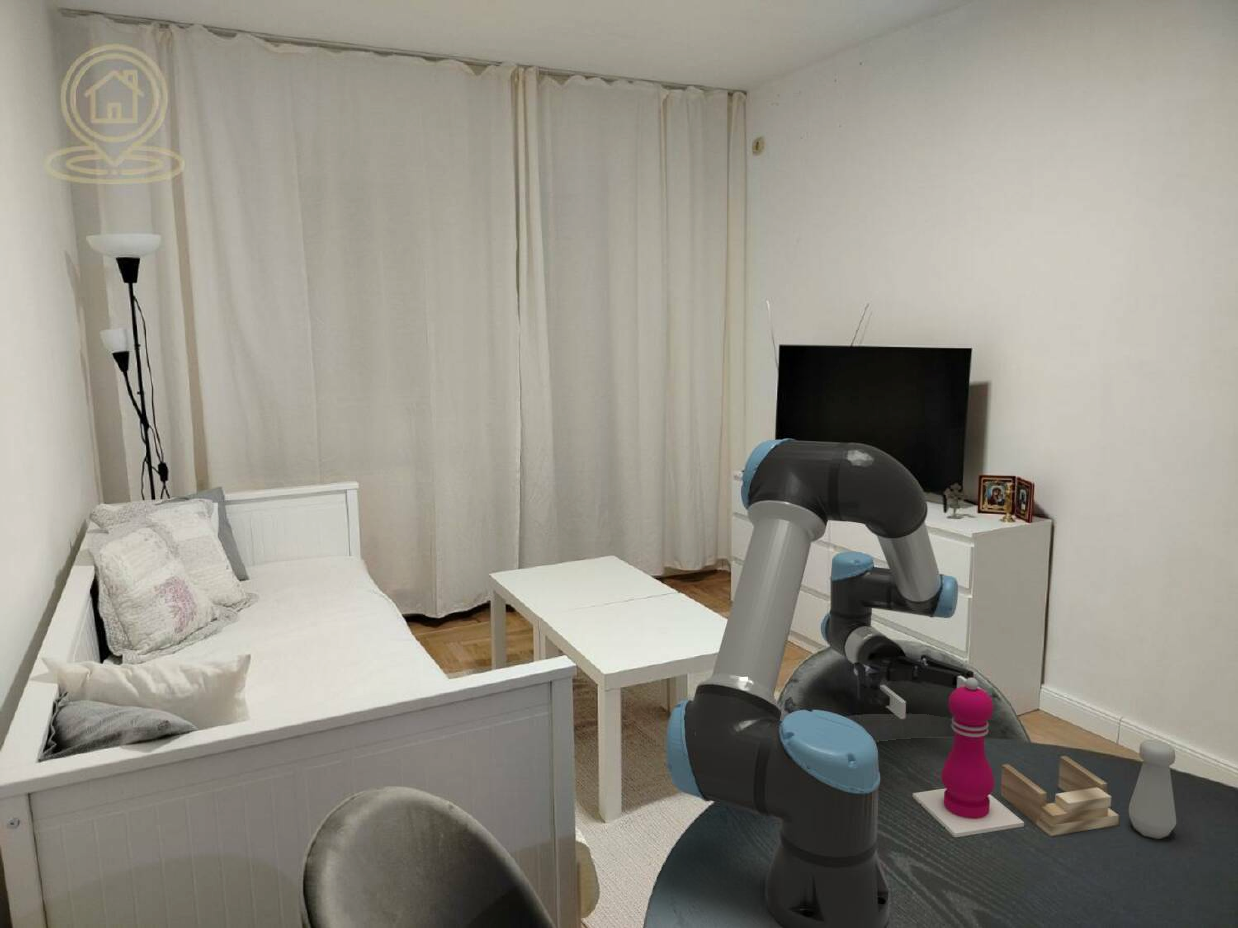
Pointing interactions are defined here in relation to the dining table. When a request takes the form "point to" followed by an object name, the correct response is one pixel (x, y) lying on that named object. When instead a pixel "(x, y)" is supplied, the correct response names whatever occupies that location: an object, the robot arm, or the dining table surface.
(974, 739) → the pepper mill
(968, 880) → the dining table surface
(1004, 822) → the mat
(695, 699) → the robot arm
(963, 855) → the dining table surface
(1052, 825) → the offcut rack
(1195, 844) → the dining table surface
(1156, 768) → the salt shaker
